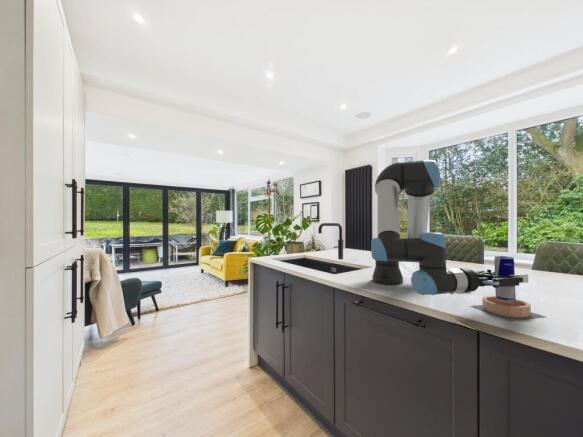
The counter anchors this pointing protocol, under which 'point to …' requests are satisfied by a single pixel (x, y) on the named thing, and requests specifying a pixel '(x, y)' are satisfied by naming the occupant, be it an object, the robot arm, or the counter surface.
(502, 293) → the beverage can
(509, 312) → the bowl
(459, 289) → the robot arm
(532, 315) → the mat
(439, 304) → the counter surface
